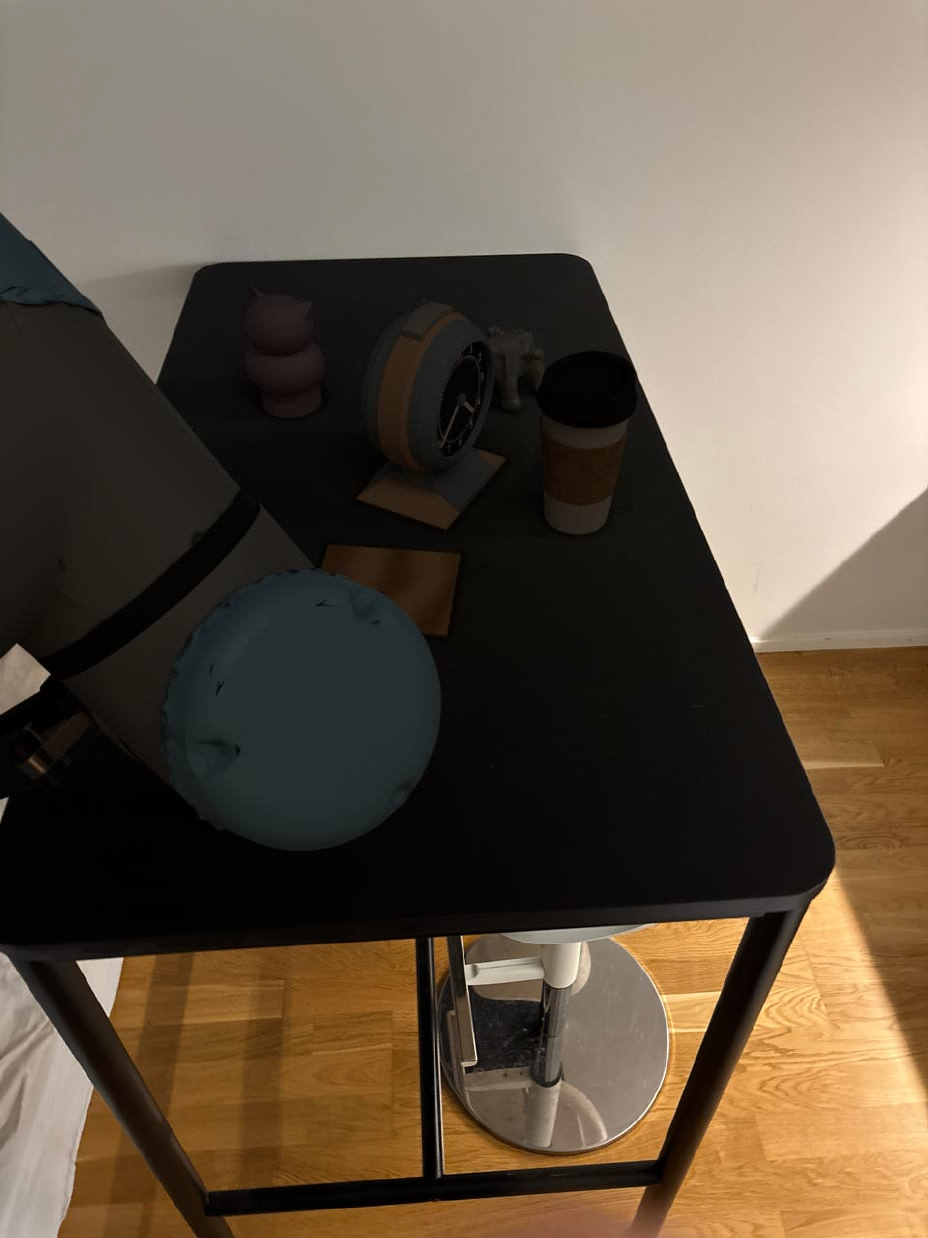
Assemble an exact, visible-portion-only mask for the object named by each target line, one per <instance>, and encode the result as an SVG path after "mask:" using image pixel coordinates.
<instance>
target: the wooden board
mask: <svg viewBox="0 0 928 1238" xmlns="http://www.w3.org/2000/svg"><path fill="white" fill-rule="evenodd" d="M461 556H462V555H461V553H458V552H457V553H456V552H455V553H454V552H442V551H427V550H415V549H414V550H411V549H399V548H384V547H383V548H382V547H372V546H369V547H368V546H356V545H341V544H328V545H327V548H326V551H325V554H324V557H323V561H322V564H321V567H320V569H321V570H323V571H324V572H326V573H336V574H340V575H343V576H347V577H349V578H350V580H351V581H353V582H357V583H360V584H363V585H365V586H367V587H369V588H371V589H373V590H376V591H379V592H380V593H382V594H383V595H385V596H386V597H388V598H389V599H391V600H392V601H393V602H394V603H396V604H397V605H398V606H399V607H400V608H401V609H402V610H403V611H404V612H405V613H406V614H407V615H408V616H409V617H410V618H411V619H412V620H413V622H414V623H415V624H416V625H417V627H418V628H419V630H420V631H421V633H422V635H423V636H429V637H441V638H447V637H448V634H449V627H450V621H451V616H452V610H453V604H454V598H455V593H456V586H457V582H458V581H457V580H458V575H459V568H460V562H461V558H462V557H461Z"/></svg>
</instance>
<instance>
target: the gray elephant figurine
mask: <svg viewBox="0 0 928 1238" xmlns="http://www.w3.org/2000/svg"><path fill="white" fill-rule="evenodd" d="M485 331H486V334H487V335H488V336H489V338H488V340H489V342H490V343H491V347H492V351H493V355H494V383H496V385H497V388H498V391H499V393H500V395H501V401H500V402H501V403H500V405H501V407H502V408H503V409H504V410H506V411H509V412H514V411H515V412H516V411H518V410H520V408H521V407H522V401H521V398H520V396H519V391H518V378H519V377H522V376H526V375H529V377H531V380H532V382H533V387H534V390H535V392H536V393H537V394H538V388H539V386H540V384H541V383H542V378H543V374H544V372H545V370H546V369H545V364H544V358H545V352H544V351H545V350H544V349H543V348H542V347H536V344H535V341H534V333H533V332H532V331H527V330H524V328H523V329H522V328H521V327H520V326H518V327H516V329H508V330H501V327H500V326H498V325H495V324H492V325H491V326H489V327H487V328H486V330H485Z"/></svg>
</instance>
